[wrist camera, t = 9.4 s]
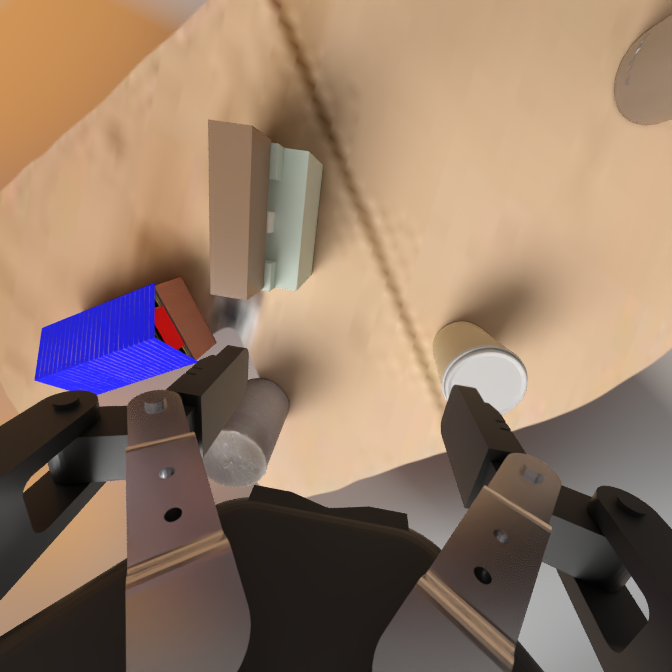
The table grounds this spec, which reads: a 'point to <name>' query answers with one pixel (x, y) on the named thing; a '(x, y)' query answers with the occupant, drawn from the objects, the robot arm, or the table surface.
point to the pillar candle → (248, 436)
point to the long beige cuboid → (237, 208)
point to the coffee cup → (479, 365)
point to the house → (124, 340)
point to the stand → (291, 217)
